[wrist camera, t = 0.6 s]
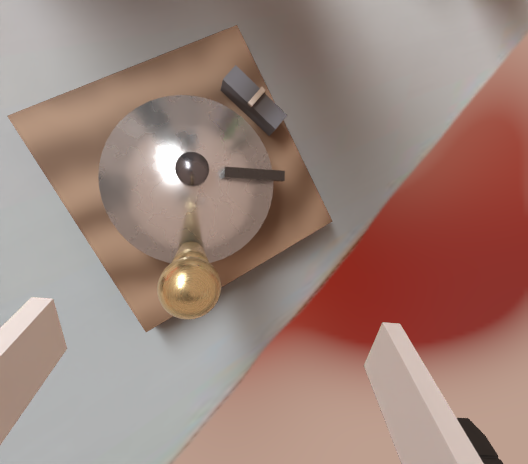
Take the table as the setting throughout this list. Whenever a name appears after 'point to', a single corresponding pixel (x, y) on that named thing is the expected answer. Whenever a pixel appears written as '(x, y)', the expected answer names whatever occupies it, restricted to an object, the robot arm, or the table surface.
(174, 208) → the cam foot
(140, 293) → the walnut stand
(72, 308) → the table surface
